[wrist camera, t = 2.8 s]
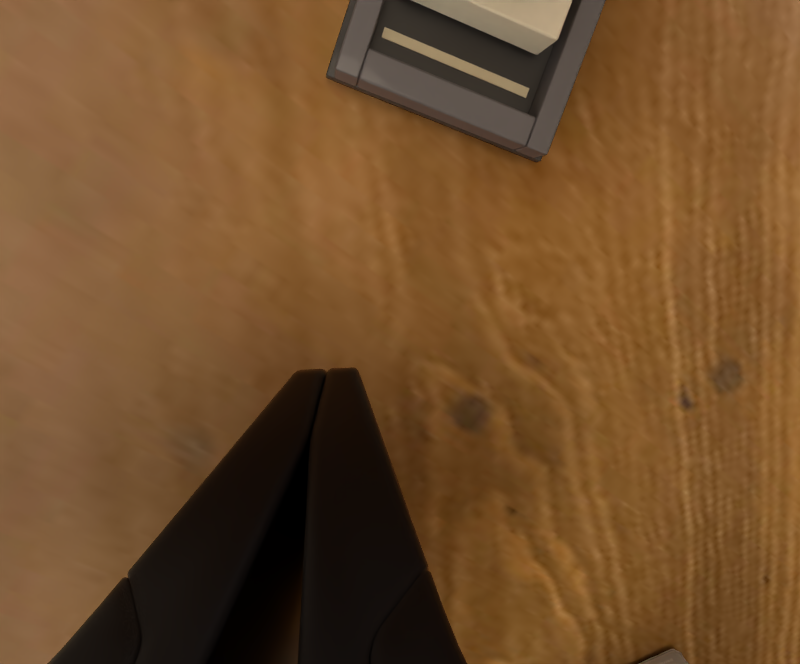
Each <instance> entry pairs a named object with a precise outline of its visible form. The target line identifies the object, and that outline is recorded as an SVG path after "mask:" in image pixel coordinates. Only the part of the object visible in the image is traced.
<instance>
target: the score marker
mask: <svg viewBox="0 0 800 664" xmlns="http://www.w3.org/2000/svg"><path fill="white" fill-rule="evenodd" d="M412 1H414V2H416V3H419V4H421V5H423V6H425V7H428V8H430V9H432V10H435V11H437V12H439V13H442V14H444V15H446V16H448V17H451V18H453V19H455V20H458V21H460V22H462V23H464V24H467V25H469V26H471V27H474V28H476V29H478V30H480V31H483V32H485V33H487V34H490V35H492V36H494V37H497V38H499V39H501V40H503V41H506V42H508V43H510V44H513V45H515V46H517V47H519V48H522V49H524V50H526V51H529V52H531V53H533V54H535V55H538V54H539V53H540V52H542V51H543V50H544V49H546V48H547V47H549V46H550V45H551V44H553V43H554V42H555V41H557V40H558V38H559V35H560V32H561V30H562V27H563V24H564V22H565V19H566V16H567V14H568V11H569V8H570V6H571V3H572V0H412Z"/></svg>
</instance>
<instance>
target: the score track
mask: <svg viewBox="0 0 800 664" xmlns="http://www.w3.org/2000/svg"><path fill="white" fill-rule="evenodd" d="M605 1H606V0H572V3H571V6H570V8H569V11H568V14H567V16H566V19H565V22H564V24H563V27H562V30H561V32H560V35H559V38H558V40H557V41H555V42H554V43H553V44H551V45H550V46H549V47H547V48H546V49H544V50H543V51H542V52H540V53H539V54H538V55H535V54H533V53H531V52H529V51H526V50H524V49H522V48H519V47H517V46H515V45H513V44H510V43H508V42H506V41H503V40H501V39H499V38H497V37H494V36H492V35H490V34H487V33H485V32H483V31H480V30H478V29H476V28H474V27H471V26H469V25H467V24H464V23H462V22H460V21H458V20H455V19H453V18H451V17H448V16H446V15H444V14H442V13H439V12H437V11H435V10H432V9H430V8H428V7H425V6H423V5H421V4H419V3H416V2H414V1H412V0H350V2H349V5H348V8H347V11H346V14H345V17H344V20H343V24H342V27H341V30H340V33H339V36H338V39H337V42H336V45H335V48H334V52H333V55H332V58H331V61H330V64H329V67H328V70H327V73H326V77H327V78H328V79H331V80H333V81H336V82H338V83H341V84H343V85H346V86H348V87H351V88H353V89H356V90H358V91H361V92H363V93H365V94H368V95H370V96H373V97H375V98H378V99H380V100H383V101H385V102H388V103H390V104H393V105H395V106H398V107H400V108H403V109H405V110H408V111H410V112H413V113H415V114H418V115H420V116H423V117H425V118H428V119H430V120H433V121H435V122H438V123H440V124H443V125H445V126H448V127H450V128H453V129H455V130H458V131H460V132H463V133H465V134H468V135H470V136H473V137H475V138H478V139H480V140H483V141H485V142H487V143H490V144H492V145H495V146H497V147H500V148H502V149H505V150H507V151H510V152H512V153H515V154H517V155H520V156H522V157H525V158H527V159H530V160H532V161H535V162H539V161H541V159H542V156H544V155H547V153H548V151H549V148H550V146H551V143H552V140H553V138H554V135H555V132H556V130H557V127H558V125H559V122H560V119H561V117H562V114H563V111H564V109H565V106H566V103H567V101H568V98H569V96H570V93H571V90H572V88H573V85H574V82H575V80H576V77H577V75H578V72H579V69H580V67H581V64H582V61H583V59H584V56H585V53H586V51H587V48H588V46H589V43H590V40H591V38H592V35H593V32H594V30H595V27H596V25H597V22H598V19H599V17H600V14H601V11H602V9H603V6H604V3H605Z"/></svg>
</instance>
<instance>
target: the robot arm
mask: <svg viewBox="0 0 800 664" xmlns="http://www.w3.org/2000/svg"><path fill="white" fill-rule="evenodd" d="M128 578H129V579H128ZM128 578H126V577H125V578H123V579H121V581H120V582H119V583H118V584H117V585H116V587H115V588H114V589H113V590H112V591H111V593H110V594H109V595H108V596H107V597H106V599H105V600H104V601H103V602H102V603H101V604H100V606H99V607H98V608H97V609H96V610H95V611H94V613H93V614H92V615H91V616H90V617H89V618H88V619H87V621H86V622H85V623H84V624H83V625H82V626H81V627H80V629H79V630H78V631H77V632H76V633H75V634H74V635H73V637H72V638H71V639H70V640H69V641H68V642H67V643H66V645H65V646H64V647H63V648H62V649H61V650H60V651H59V652H58V653H57V654H56V655H55V657H54V658H53V659H52V660H51V661H50V662H49V663H48V664H467V663H466V660H465V658H464V656H463V654H462V652H461V650H460V648H459V646H458V643H457V641H456V638H455V636H454V633H453V631H452V628H451V626H450V623H449V621H448V618H447V615H446V613H445V610H444V608H443V605H442V603H441V600H440V597H439V595H438V592H437V589H436V586H435V583H434V580H433V578H432V575H431V573H430V572H429V571H428V565H427V562H426V559H425V556H424V553H423V551H422V548H421V545H420V542H419V539H418V537H417V534H416V531H415V528H414V525H413V523H412V520H411V517H410V514H409V511H408V509H407V506H406V503H405V500H404V497H403V495H402V492H401V489H400V486H399V483H398V480H397V478H396V475H395V472H394V469H393V466H392V464H391V461H390V458H389V455H388V452H387V450H386V447H385V444H384V441H383V438H382V436H381V433H380V430H379V427H378V424H377V422H376V419H375V416H374V413H373V410H372V408H371V405H370V402H369V399H368V396H367V394H366V391H365V388H364V385H363V382H362V380H361V377H360V374H359V372H358V370H357V369H356V368H332V369H330V370H329V371H328V372H327V371H325V370H323V369H311V370H299V371H297V372H295V373H294V374H293V375H292V376H291V378H290V379H289V380H288V381H287V382H286V384H285V385H284V386H283V387H282V388H281V390H280V391H279V392H278V393H277V394H276V396H275V397H274V398H273V399H272V400H271V402H270V403H269V404H268V405H267V406H266V407H265V409H264V410H263V411H262V412H261V413H260V415H259V416H258V417H257V418H256V419H255V421H254V422H253V423H252V424H251V425H250V427H249V428H248V429H247V430H246V431H245V433H244V434H243V435H242V436H241V437H240V439H239V440H238V441H237V442H236V443H235V445H234V446H233V447H232V448H231V449H230V451H229V452H228V453H227V454H226V455H225V457H224V458H223V459H222V460H221V461H220V463H219V464H218V465H217V466H216V467H215V469H214V470H213V471H212V472H211V473H210V474H209V476H208V477H207V478H206V479H205V480H204V482H203V483H202V484H201V485H200V486H199V488H198V489H197V490H196V491H195V492H194V494H193V495H192V496H191V497H190V498H189V500H188V501H187V502H186V503H185V504H184V506H183V507H182V508H181V509H180V510H179V512H178V513H177V514H176V515H175V516H174V518H173V519H172V520H171V521H170V522H169V524H168V525H167V526H166V527H165V528H164V530H163V531H162V532H161V533H160V534H159V536H158V537H157V538H156V539H155V540H154V541H153V543H152V544H151V545H150V546H149V547H148V549H147V550H146V551H145V552H144V553H143V555H142V556H141V557H140V558H139V559H138V561H137V562H136V563H135V564H134V565H133V567H132V568H131V569H130V570H129V572H128Z"/></svg>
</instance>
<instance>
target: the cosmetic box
mask: <svg viewBox="0 0 800 664" xmlns="http://www.w3.org/2000/svg"><path fill="white" fill-rule="evenodd" d="M639 664H689V663H688V662H687V661H686V660H685V658H684V656H683V655H682V653H681V652H679V651H677V650H675V649H670V650H668V651H666V652H663V653H661V654H659V655H657V656H654V657H652V658H650V659H648V660H645V661H643V662H641V663H639Z"/></svg>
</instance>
